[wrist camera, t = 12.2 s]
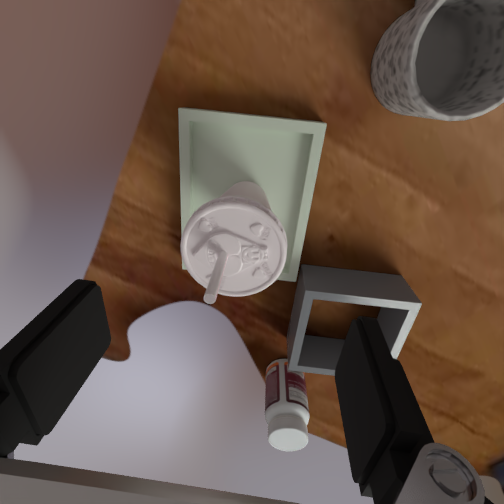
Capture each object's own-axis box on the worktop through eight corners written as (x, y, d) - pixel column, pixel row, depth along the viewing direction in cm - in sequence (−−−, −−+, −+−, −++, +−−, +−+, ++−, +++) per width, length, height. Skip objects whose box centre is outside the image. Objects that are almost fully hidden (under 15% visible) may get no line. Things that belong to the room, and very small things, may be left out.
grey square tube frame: (301, 264, 29) (305, 290, 25) (401, 275, 29) (422, 303, 25) (286, 338, 34) (288, 370, 30) (372, 348, 34) (386, 381, 30)
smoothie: (205, 166, 24) (136, 236, 12) (282, 162, 24) (293, 231, 11) (214, 236, 27) (167, 350, 15) (283, 234, 27) (292, 350, 14)
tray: (184, 107, 23) (178, 108, 22) (323, 121, 23) (326, 123, 21) (187, 259, 30) (182, 268, 28) (294, 271, 30) (295, 281, 28)
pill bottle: (271, 385, 38) (270, 456, 30) (261, 360, 36) (258, 428, 28) (307, 381, 37) (316, 452, 30) (300, 354, 35) (307, 423, 28)
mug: (461, 105, 22) (530, 108, 16) (370, 122, 23) (403, 131, 17) (485, -79, 17) (593, -169, 12) (370, -49, 18) (415, -117, 12)
